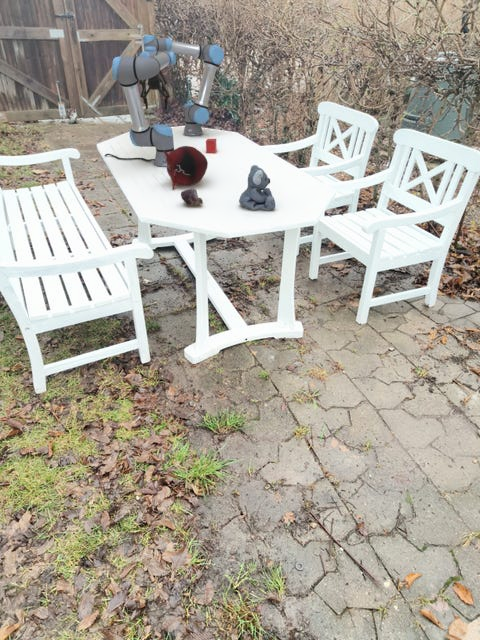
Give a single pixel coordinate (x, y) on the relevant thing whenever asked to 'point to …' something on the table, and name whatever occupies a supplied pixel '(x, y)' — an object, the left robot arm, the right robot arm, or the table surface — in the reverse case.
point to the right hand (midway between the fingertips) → (154, 95)
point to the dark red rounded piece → (186, 165)
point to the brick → (211, 146)
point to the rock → (191, 197)
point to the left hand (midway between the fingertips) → (156, 109)
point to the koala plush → (257, 191)
